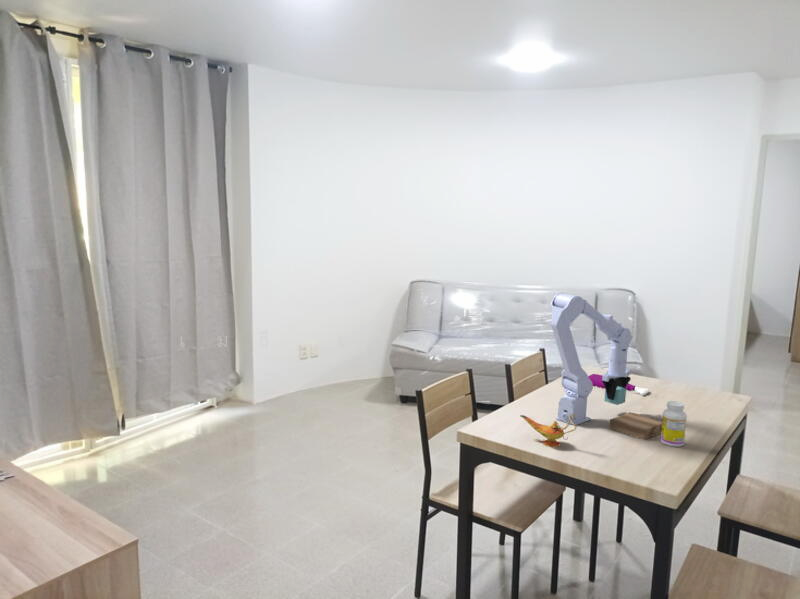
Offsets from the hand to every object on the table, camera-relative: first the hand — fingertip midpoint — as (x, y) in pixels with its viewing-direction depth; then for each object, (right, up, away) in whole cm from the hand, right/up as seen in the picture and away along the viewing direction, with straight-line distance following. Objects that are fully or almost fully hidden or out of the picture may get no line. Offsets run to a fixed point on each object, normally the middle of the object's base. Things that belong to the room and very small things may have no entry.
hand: (615, 397), depth 200 cm
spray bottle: (+13, -2, +32) cm, 34 cm away
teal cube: (0, -2, 0) cm, 2 cm away
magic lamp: (-31, -10, -25) cm, 41 cm away
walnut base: (+2, -8, -14) cm, 16 cm away
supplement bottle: (+8, -10, -25) cm, 28 cm away
